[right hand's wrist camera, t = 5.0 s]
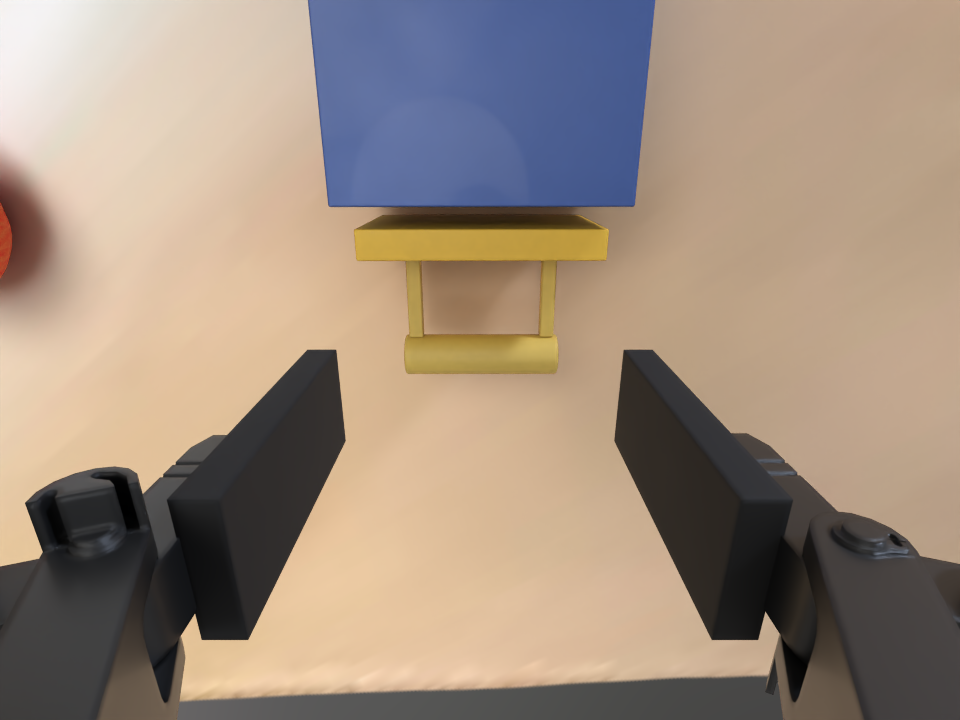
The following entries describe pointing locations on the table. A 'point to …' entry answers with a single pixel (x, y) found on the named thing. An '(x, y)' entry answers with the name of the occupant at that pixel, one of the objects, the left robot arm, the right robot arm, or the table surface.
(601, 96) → the cabinet
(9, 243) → the apple
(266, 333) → the table surface
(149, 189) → the table surface
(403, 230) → the drawer
